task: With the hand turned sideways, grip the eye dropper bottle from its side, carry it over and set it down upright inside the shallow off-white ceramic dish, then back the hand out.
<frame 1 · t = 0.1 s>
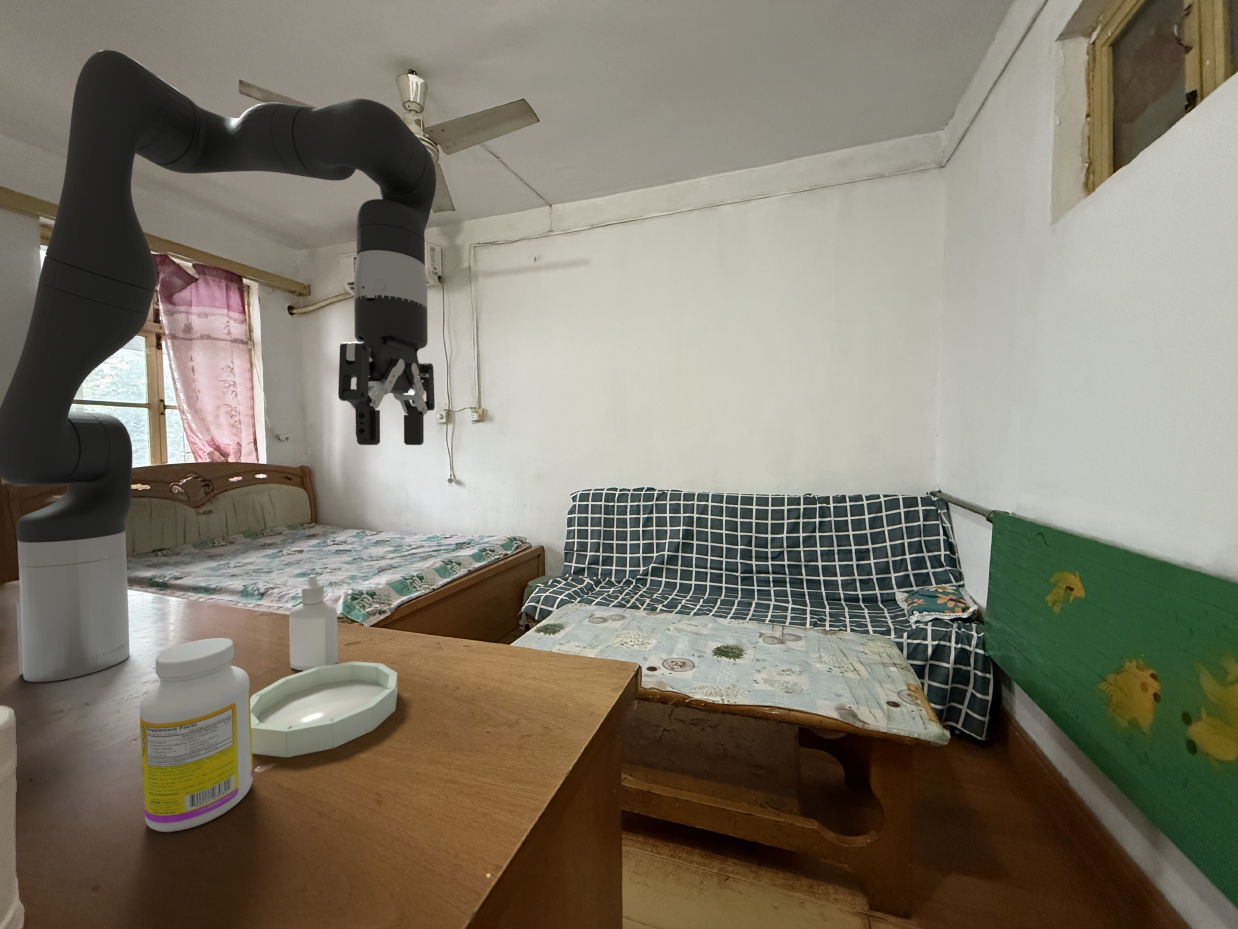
hand: (392, 445, 55), 29 cm above the table, tool pointing down, fingers open, 8 cm apart
supplement bottle: (201, 806, 39), on the table
eye dropper bottle: (314, 667, 63), on the table
dish: (325, 714, 52), on the table
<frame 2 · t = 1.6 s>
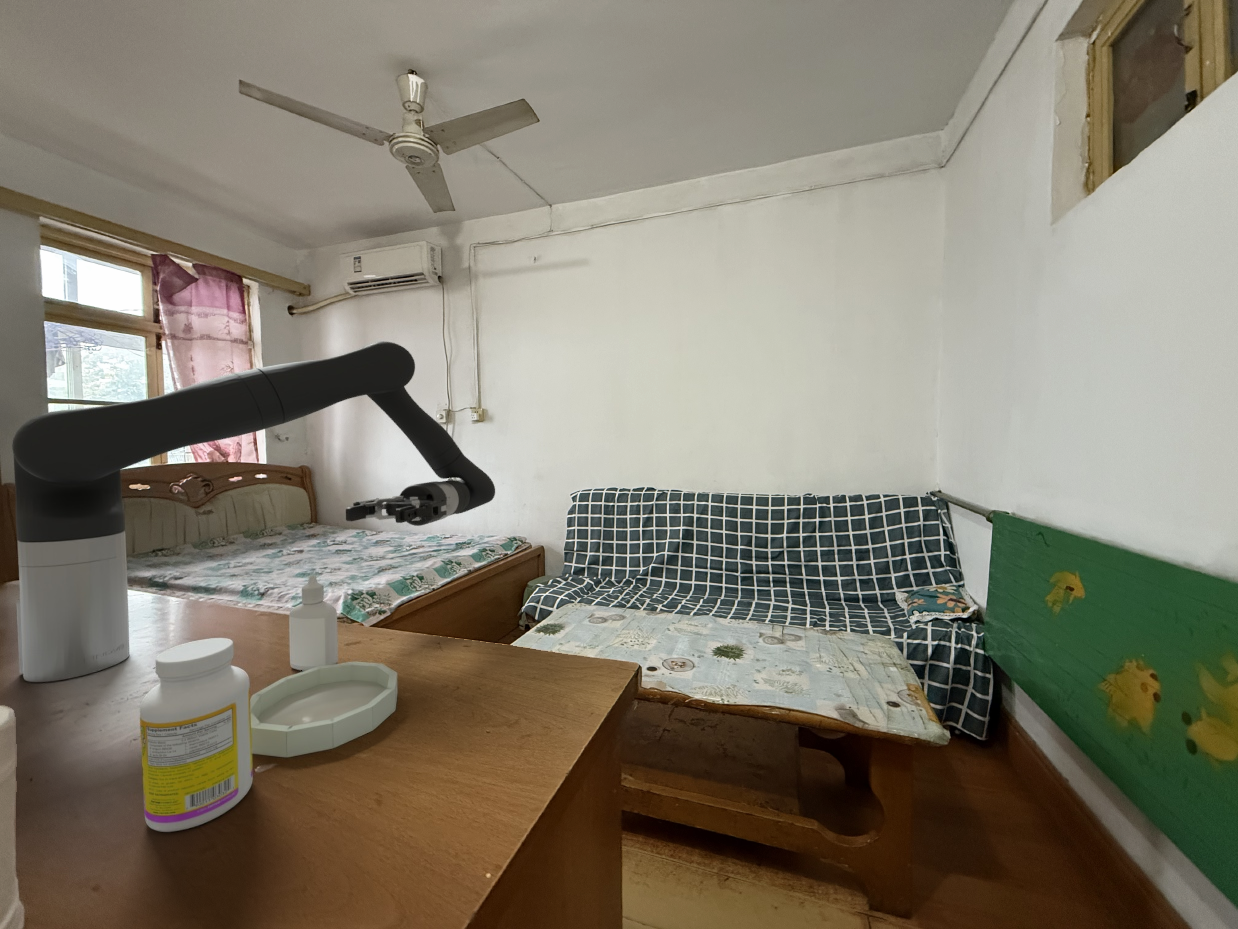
hand: (372, 515, 74), 18 cm above the table, tool horizontal, fingers open, 8 cm apart
nothing on the table moved.
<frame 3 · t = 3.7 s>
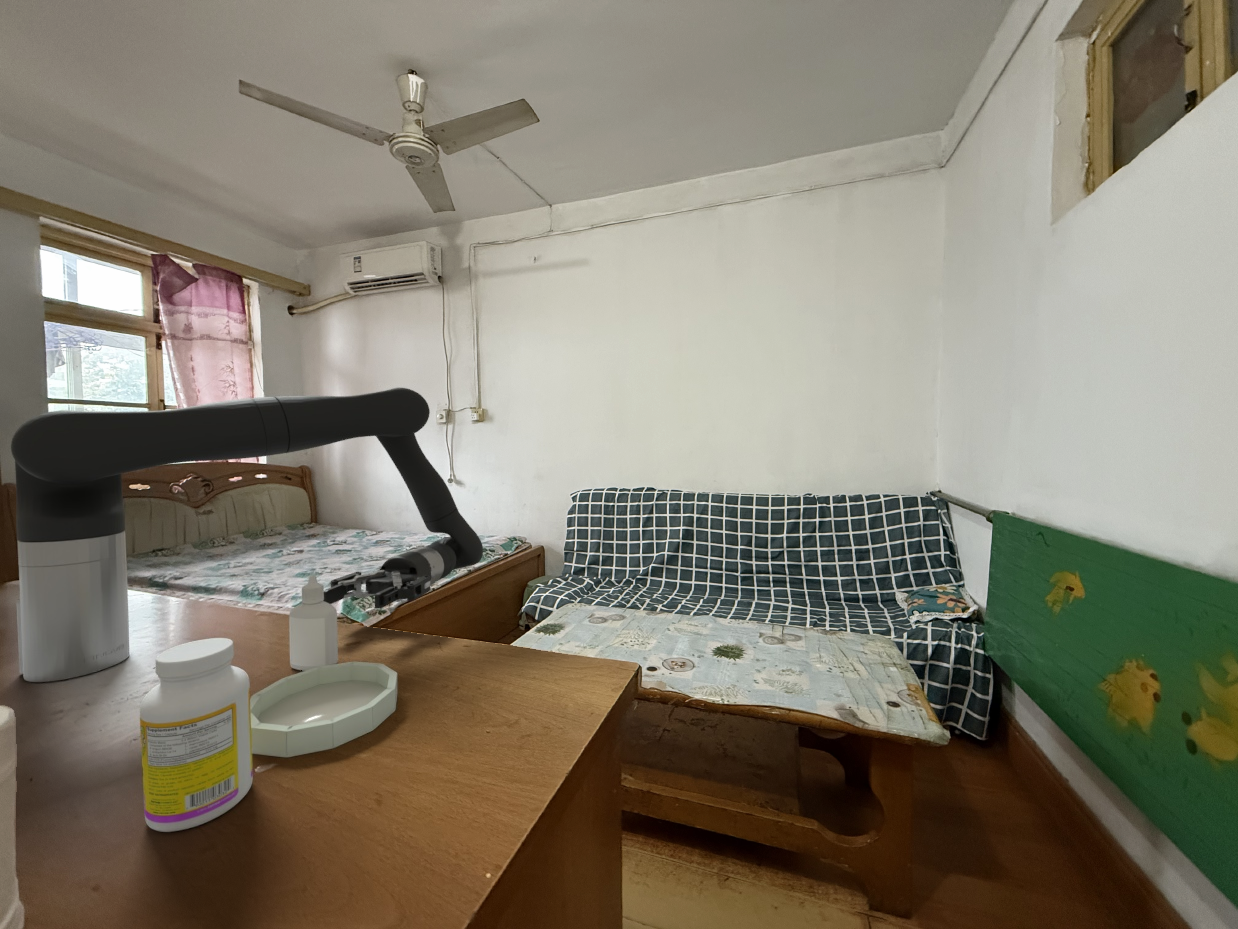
hand: (350, 600, 70), 6 cm above the table, tool horizontal, fingers open, 8 cm apart
nothing on the table moved.
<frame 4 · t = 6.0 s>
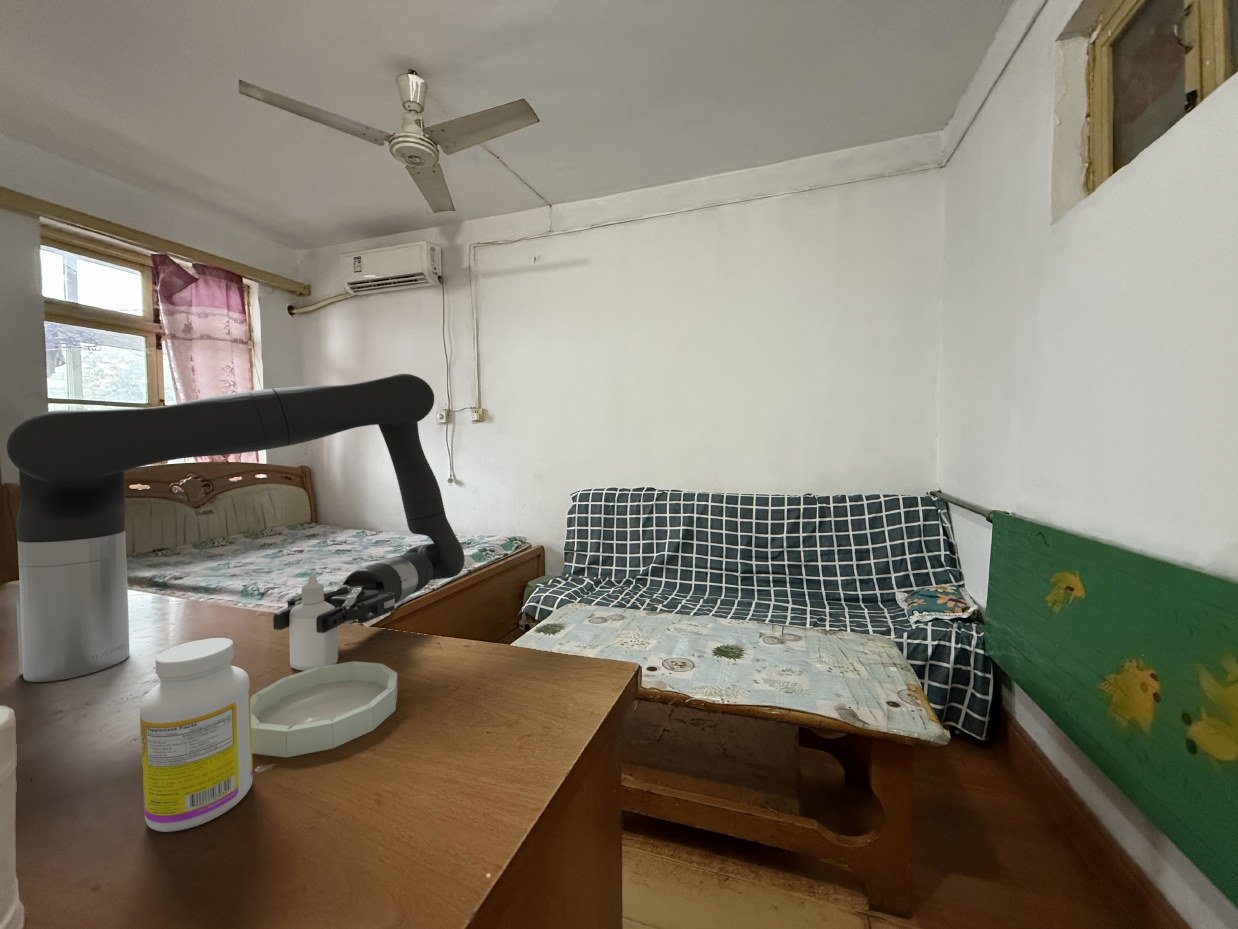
hand: (297, 623, 60), 7 cm above the table, tool horizontal, fingers closed on eye dropper bottle, 5 cm apart
eye dropper bottle: (314, 667, 63), on the table, touching gripper
everything else where it was.
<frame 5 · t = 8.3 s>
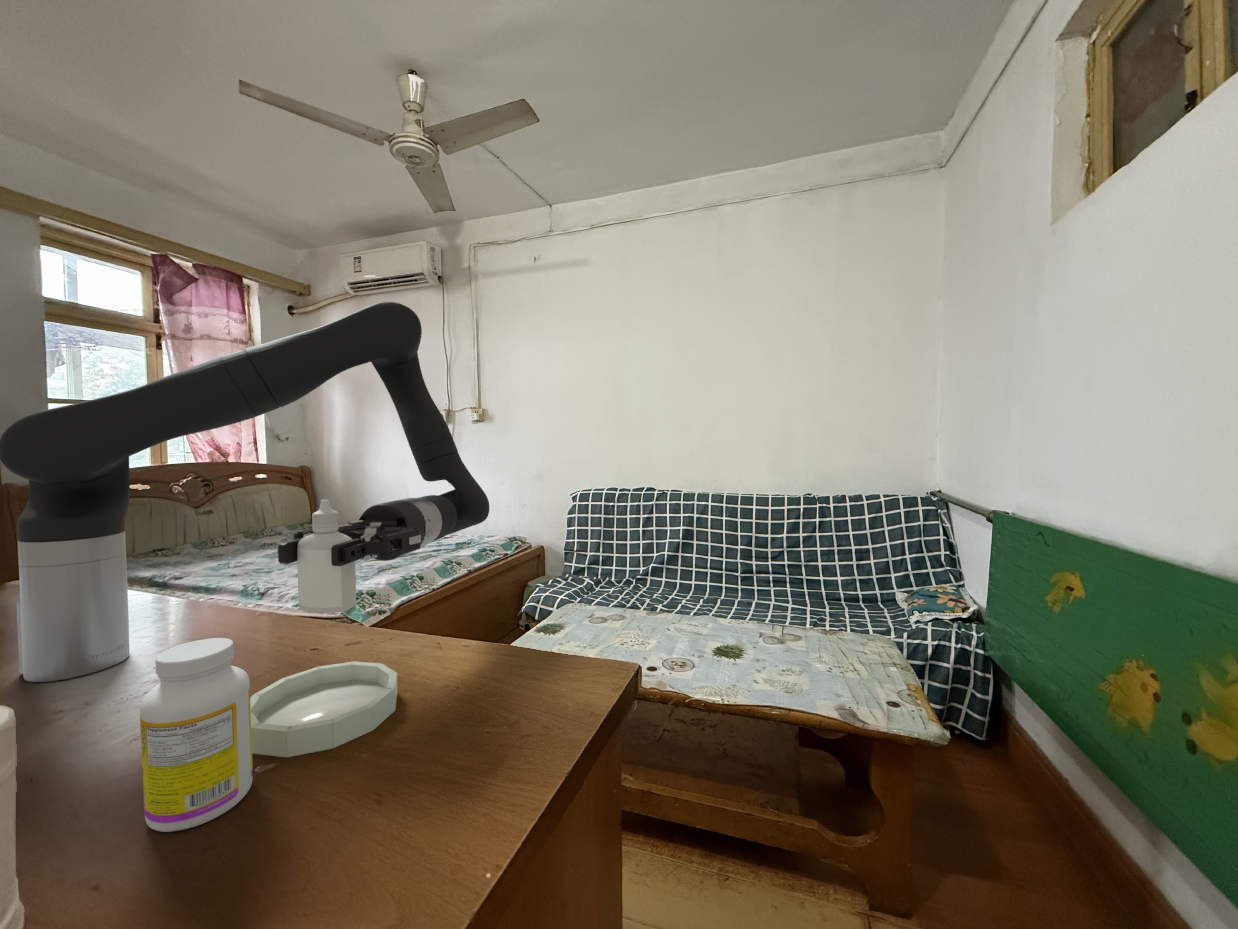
hand: (308, 555, 50), 18 cm above the table, tool horizontal, fingers closed on eye dropper bottle, 5 cm apart
eye dropper bottle: (327, 610, 53), point 11 cm above the table, touching gripper
everything else where it was.
when the fingers open (8 cm above the table, at t = 10.8 s): eye dropper bottle stays where it is, resting on dish.
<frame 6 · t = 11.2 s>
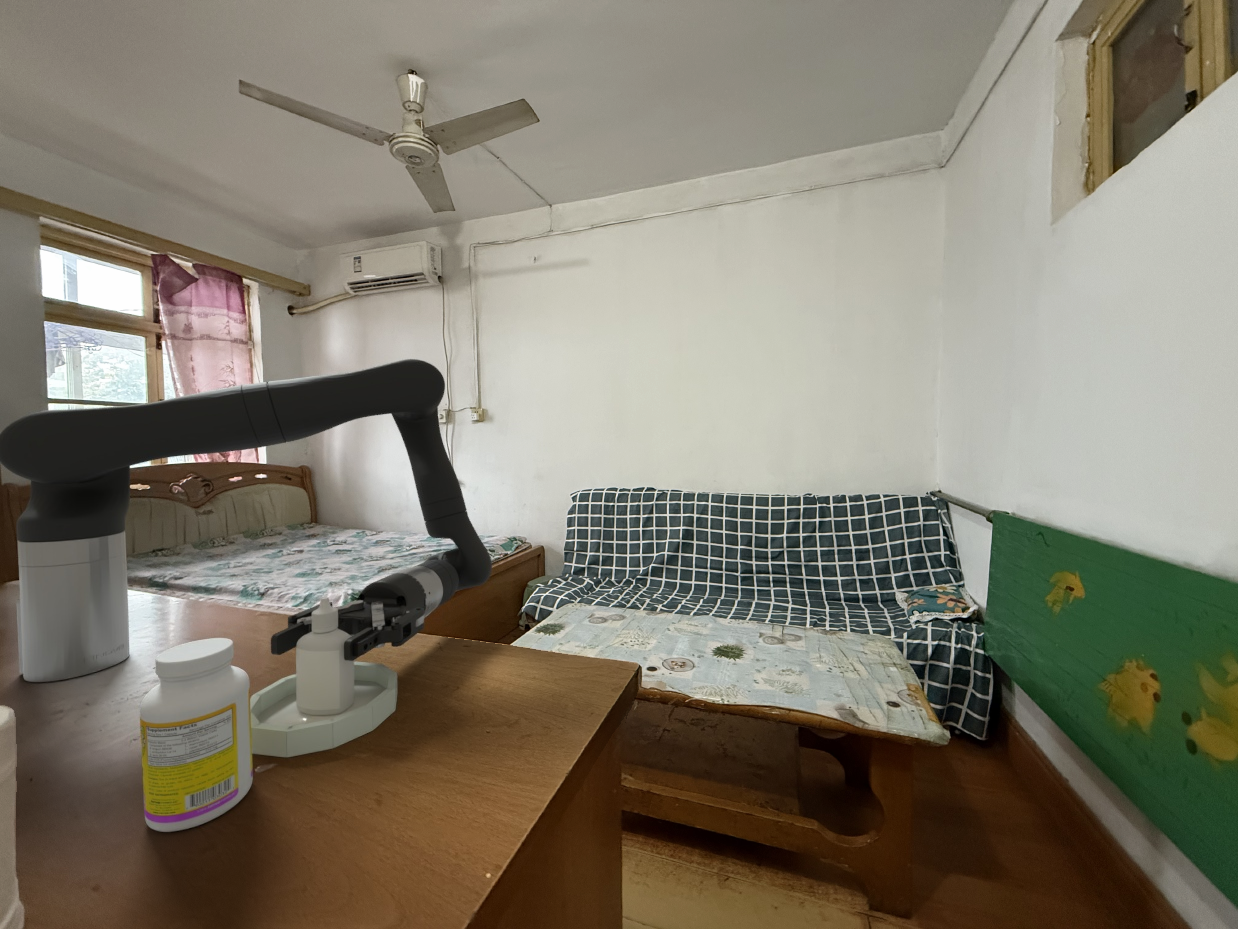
hand: (310, 649, 50), 8 cm above the table, tool horizontal, fingers open, 8 cm apart
eye dropper bottle: (325, 709, 52), resting on dish
everything else where it was.
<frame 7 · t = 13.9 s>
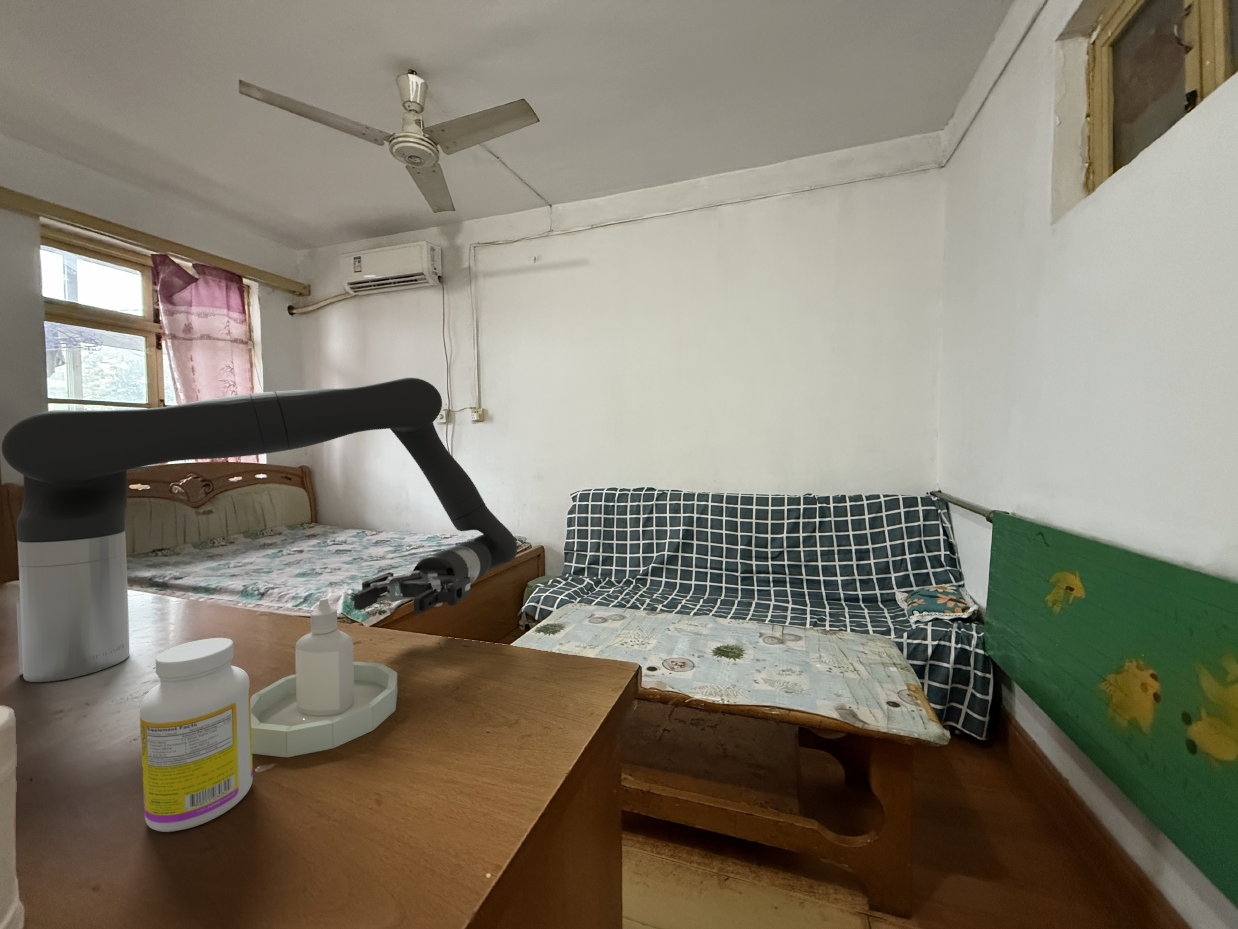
hand: (386, 604, 62), 8 cm above the table, tool horizontal, fingers open, 8 cm apart
nothing on the table moved.
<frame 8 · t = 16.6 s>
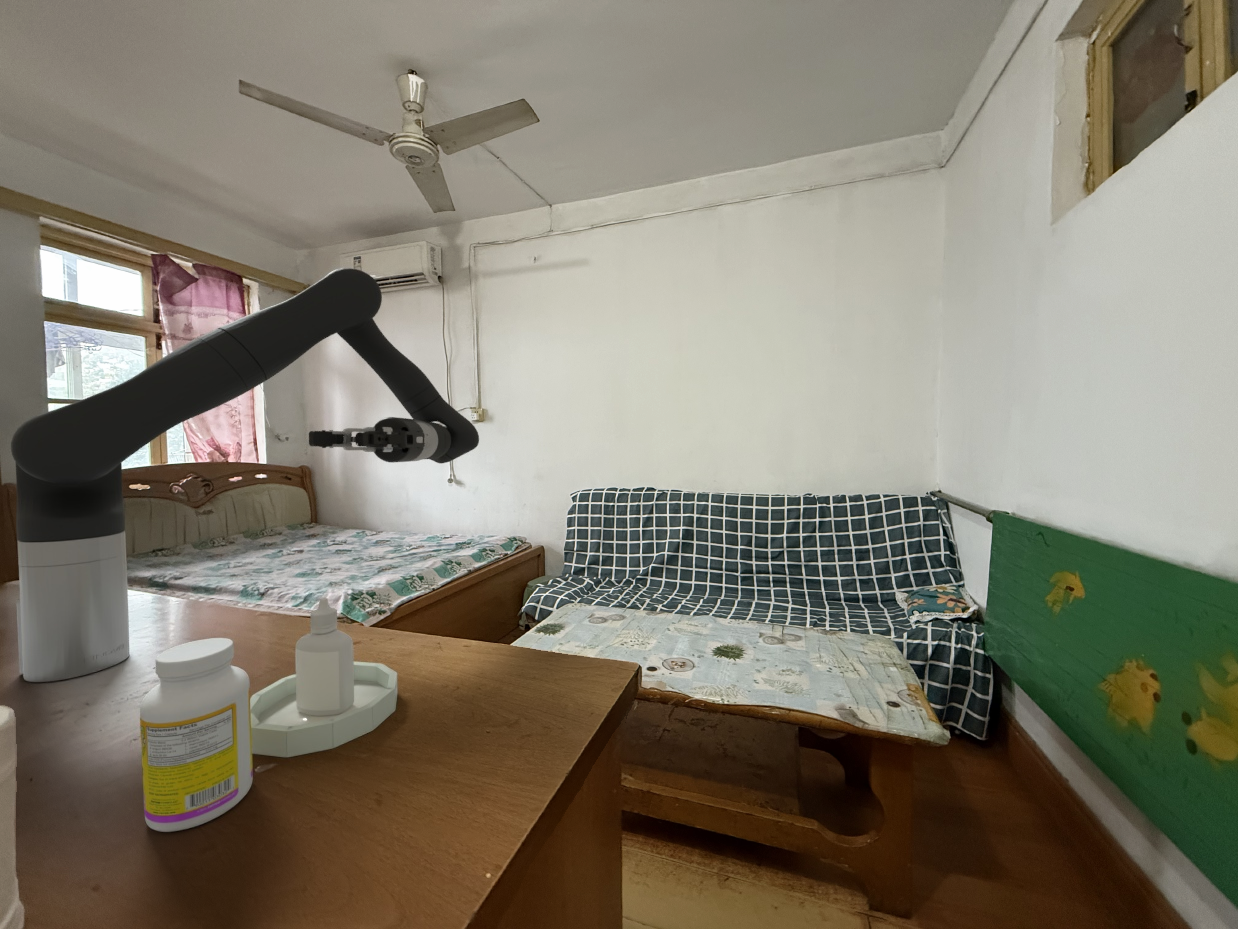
hand: (338, 438, 67), 30 cm above the table, tool horizontal, fingers open, 8 cm apart
nothing on the table moved.
at the end: eye dropper bottle inside the target area on the dish (0.1 cm from its centre), point 0.4 cm above the dish's base; eye dropper bottle tilted 0°; the gripper is holding nothing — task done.
